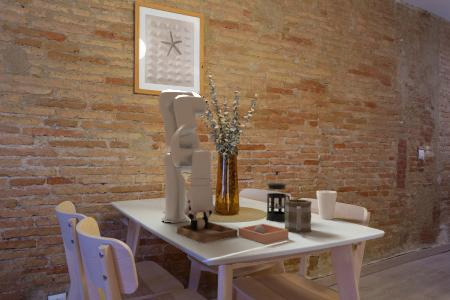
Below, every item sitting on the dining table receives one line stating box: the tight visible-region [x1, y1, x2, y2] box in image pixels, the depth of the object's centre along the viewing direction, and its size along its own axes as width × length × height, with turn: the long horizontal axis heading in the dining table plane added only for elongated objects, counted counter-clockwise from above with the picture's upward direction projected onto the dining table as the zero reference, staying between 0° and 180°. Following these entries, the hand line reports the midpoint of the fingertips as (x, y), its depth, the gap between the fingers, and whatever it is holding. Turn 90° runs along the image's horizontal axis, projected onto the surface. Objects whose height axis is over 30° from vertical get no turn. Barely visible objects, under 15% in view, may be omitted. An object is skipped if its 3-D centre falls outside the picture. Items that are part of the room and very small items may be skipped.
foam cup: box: [316, 190, 338, 221], centre depth 166 cm, size 10×9×13 cm
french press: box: [266, 170, 291, 223], centre depth 161 cm, size 12×9×23 cm
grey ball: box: [254, 224, 265, 234], centre depth 125 cm, size 4×4×4 cm
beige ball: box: [196, 217, 205, 229], centre depth 132 cm, size 4×4×4 cm
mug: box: [284, 198, 312, 234], centre depth 138 cm, size 16×11×12 cm
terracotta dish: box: [238, 223, 289, 245], centre depth 127 cm, size 13×13×4 cm
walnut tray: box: [176, 221, 239, 244], centre depth 129 cm, size 18×16×3 cm
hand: (199, 228), depth 132 cm, fingers closed on beige ball, 4 cm apart
